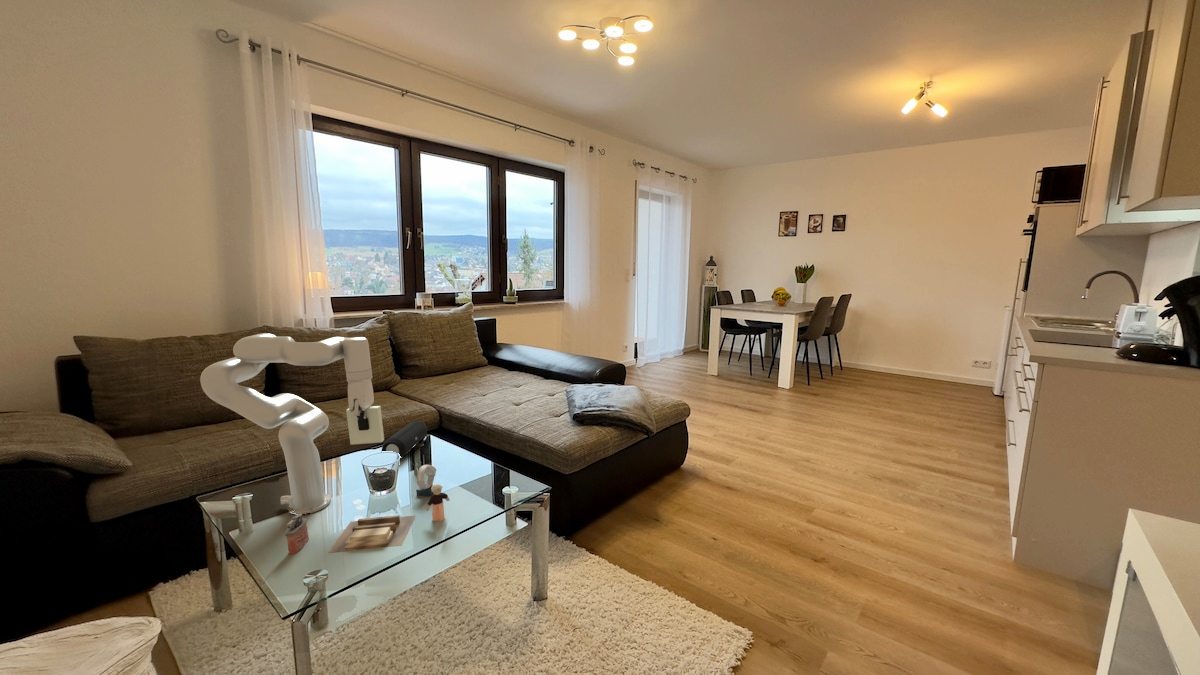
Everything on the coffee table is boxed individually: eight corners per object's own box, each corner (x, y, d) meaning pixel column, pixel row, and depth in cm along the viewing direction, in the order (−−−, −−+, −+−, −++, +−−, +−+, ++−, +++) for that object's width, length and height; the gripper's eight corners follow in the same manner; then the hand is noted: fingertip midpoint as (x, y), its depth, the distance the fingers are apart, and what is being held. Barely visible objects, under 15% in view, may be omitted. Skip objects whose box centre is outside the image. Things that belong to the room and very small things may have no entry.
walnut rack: (328, 556, 131) (326, 544, 131) (351, 524, 147) (349, 514, 146) (402, 548, 134) (400, 537, 133) (416, 518, 149) (415, 508, 149)
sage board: (350, 444, 155) (346, 410, 153) (353, 441, 157) (349, 407, 155) (381, 442, 156) (377, 408, 154) (384, 439, 158) (380, 405, 156)
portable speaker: (403, 463, 192) (401, 440, 190) (380, 463, 193) (377, 440, 191) (430, 439, 217) (427, 418, 215) (409, 439, 218) (407, 419, 216)
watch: (440, 490, 168) (437, 461, 166) (429, 501, 160) (425, 471, 158) (426, 489, 169) (423, 460, 167) (414, 500, 161) (410, 470, 159)
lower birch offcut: (345, 548, 133) (344, 543, 133) (350, 539, 137) (350, 535, 137) (388, 543, 135) (388, 538, 134) (393, 535, 139) (392, 530, 138)
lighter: (301, 541, 139) (296, 510, 137) (313, 540, 139) (308, 509, 138) (285, 558, 131) (280, 525, 129) (298, 557, 131) (292, 525, 130)
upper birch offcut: (350, 542, 133) (349, 537, 133) (355, 535, 137) (354, 530, 137) (386, 538, 135) (386, 533, 134) (390, 531, 138) (390, 526, 138)
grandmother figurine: (434, 528, 143) (430, 490, 141) (426, 525, 145) (422, 487, 143) (454, 516, 150) (450, 479, 148) (446, 513, 152) (442, 477, 150)
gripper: (356, 370, 160) (363, 421, 163) (336, 381, 144) (344, 438, 147) (379, 368, 161) (385, 419, 164) (362, 380, 145) (369, 436, 148)
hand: (365, 427), depth 156 cm, fingers closed on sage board, 2 cm apart
